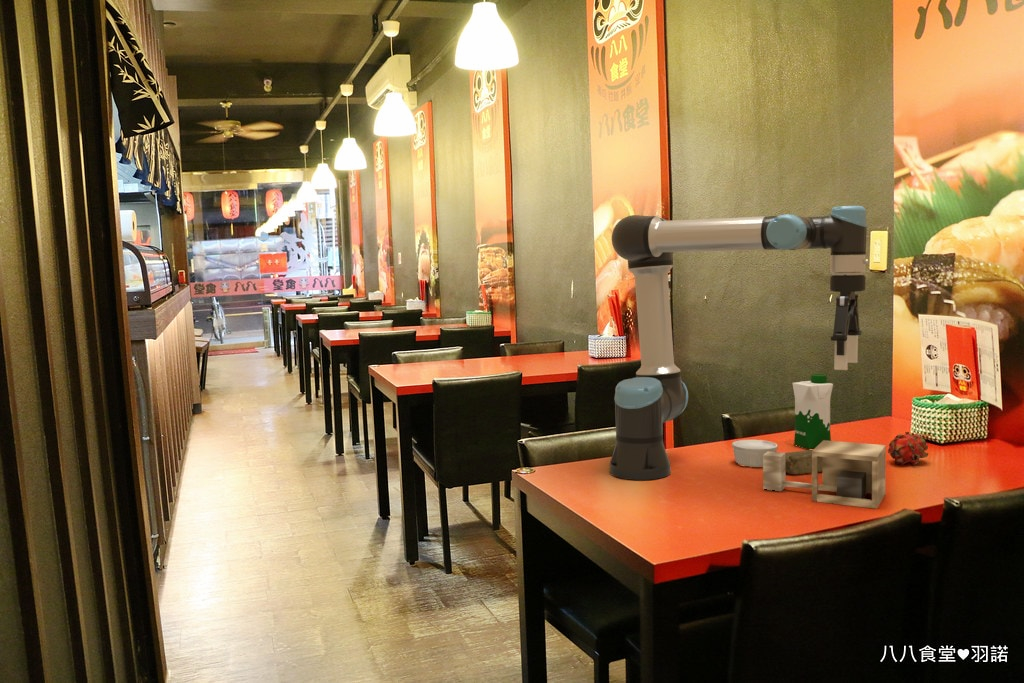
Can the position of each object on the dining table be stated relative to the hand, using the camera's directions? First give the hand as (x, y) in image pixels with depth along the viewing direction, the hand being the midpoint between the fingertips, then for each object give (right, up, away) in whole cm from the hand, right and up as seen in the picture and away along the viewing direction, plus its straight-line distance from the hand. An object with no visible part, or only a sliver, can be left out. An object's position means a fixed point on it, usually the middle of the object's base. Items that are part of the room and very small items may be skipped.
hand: (846, 366), depth 188 cm
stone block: (-5, -27, +13) cm, 30 cm away
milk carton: (+6, -24, +38) cm, 46 cm away
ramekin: (-15, -26, +22) cm, 37 cm away
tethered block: (-10, -28, -7) cm, 31 cm away
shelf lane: (-4, -28, -10) cm, 31 cm away
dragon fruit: (+22, -25, +17) cm, 38 cm away
